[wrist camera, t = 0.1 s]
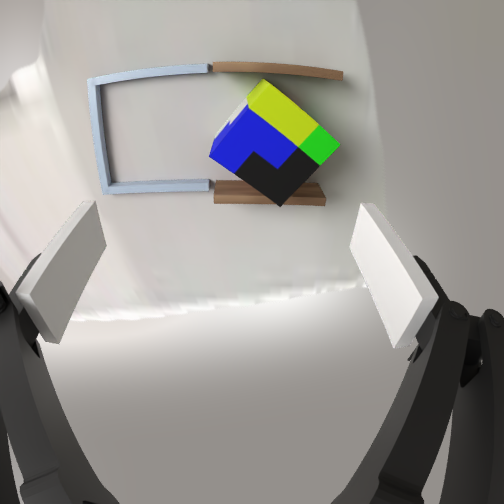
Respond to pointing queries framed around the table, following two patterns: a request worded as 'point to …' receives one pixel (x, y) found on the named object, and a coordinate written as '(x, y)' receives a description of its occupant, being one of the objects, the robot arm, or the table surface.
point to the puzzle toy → (271, 143)
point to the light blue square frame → (100, 138)
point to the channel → (240, 189)
